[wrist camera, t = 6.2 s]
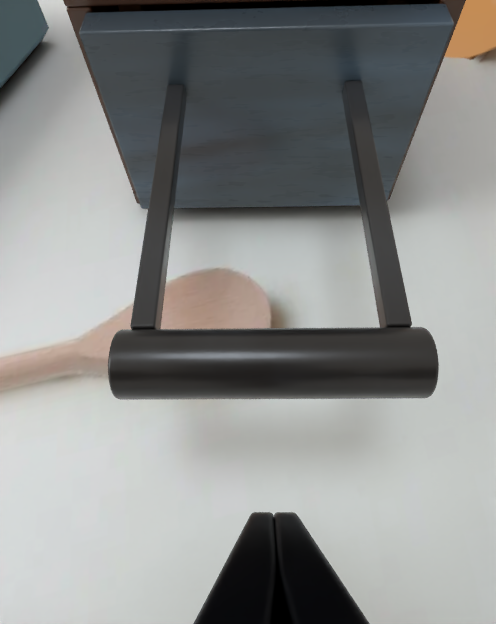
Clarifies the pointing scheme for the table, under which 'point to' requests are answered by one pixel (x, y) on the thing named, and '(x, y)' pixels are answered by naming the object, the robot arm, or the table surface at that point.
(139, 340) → the drawer
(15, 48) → the book
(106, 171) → the table surface
